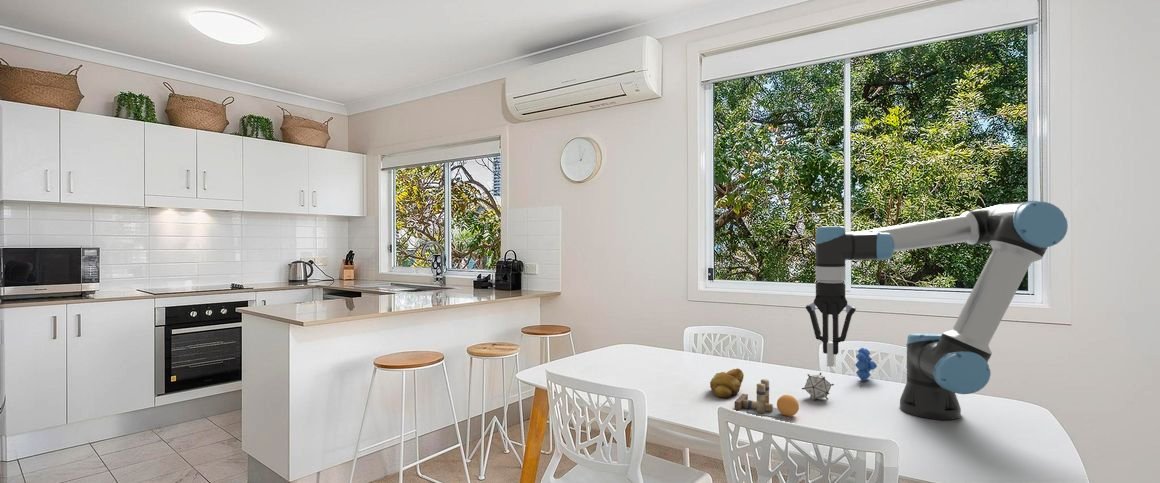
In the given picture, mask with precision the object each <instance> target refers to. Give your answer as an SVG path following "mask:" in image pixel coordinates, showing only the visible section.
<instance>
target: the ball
mask: <svg viewBox="0 0 1160 483" xmlns="http://www.w3.org/2000/svg"><path fill="white" fill-rule="evenodd" d="M776 408H778V410H779V412H780V413H781V414H783V415H785V416H792V417H793V416H795V415H796V414H797V413H798V412H799V409H800V404H799V402H798V400H797V398H795V397H794V396H793V395H790V394H784V395H781V396H780V397H779V398H778V399H777V402H776Z"/></svg>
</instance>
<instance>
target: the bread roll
mask: <svg viewBox="0 0 1160 483" xmlns="http://www.w3.org/2000/svg"><path fill="white" fill-rule="evenodd" d="M710 380H711V381H710V382H709V385H710V386H709V387H710V390H711V391H712V393H713V394H715V395H716V397H719V398H725V399H726V398H730V397H731V396H734V395H735V396H736V395H737V394H738V393H739V392H740V390H741V386H742V385H741V384H742V383H743V380H744V372H743V370H742V369H740V368H732V369H730V370H727V372H725V371H721V372H718V373H716V374H714V375H713V377H712V378H711V379H710Z"/></svg>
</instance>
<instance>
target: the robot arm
mask: <svg viewBox="0 0 1160 483" xmlns="http://www.w3.org/2000/svg"><path fill="white" fill-rule="evenodd" d="M1067 232H1068V220H1067V218H1066V217H1065V214H1064V212H1063V211H1062V210H1061V208H1060V207H1058V206H1056V205H1055V204H1053V203H1051V202H1046V201H1038V200H1028V201H1023V202H1006V203H1000V204H995V205H993V206H989V207H985V208H980V209H979V208H978V209H976V210H975V209H974V210H970V211H965V212H962V213H961V214H960V215H959V216H953V217H946V218H940V219H933V220H926V221H925V220H924V221H920V222H913V223H905V224H900V225H891V226H885V227H879V228H873V229H872V228H871V229H865V230H859V231H846V227H845V226H841V225H840V226H839V225H838V226H836V225H835V226H834V225H833V226H829V225H828V226H827V225H826V226H819V227H817V228H816V231H815V241H814V244H815V280H817V281H816V282H815V297H814V300H813V302H812V303H809V304H807V305H806V306H805V309H806V311H807V313H808V314H809V317H810V321H811V324H812V328H813V332H814V337H815V339H816V340H818V341H821V342H822V353H823V354H826V367H832V368H833V367H834V366H835V356H837V355H838V354H839V343H843V342H845V340H846V339H847V335H848V332H849V329H850V324H851V321H852V316H853V315H854V314H855V312H856V310H857V308H856V307H855V306H852V305H850V304H849V303H848V300H847V298H846V283H845V282H844V281H846V261H851V260H852V261H856V260H857V261H878V262H879V261H883V260H884V261H885V260H890V259H891V258H892V257H893V255H894V253H895V252H901V251H910V250H917V249H923V248H924V249H925V248H931V247H938V246H947V245H953V244H960V243H966V244H968V245H971V246H973V245H979V244H990V246H991V249H992V251H991V253H990V254H989V257H988V259H987V260H986V263H985V265H984V266H983V268H982V270H981V273H980V275H979V276H978V279H977V280H976V282H975V284H974V286H973V289H972V290H971V292H970V294H969V296H968V298H967V300H966V301H965V303H964V306H963V308H962V309H961V312H960V314H959V316H958V318H957V319H956V321H955V323H954V325H953V326H952V329H951V330H948V331H944V332H942V333H929V332H928V333H926V332H925V333H924V332H923V333H921V332H917V333H916V332H915V333H910V334H908V336H907V340H906V344H905V345H906V382H905V386H904V389H903V392H902V393H901V396H900V399H899V408H900V409H901V410H902V411H903V412H905V413H907V414H910V415H912V416H917V417H920V418H924V419H925V418H926V419H929V420H930V419H931V420H939V421H940V420H943V421H950V420H952V421H953V420H957V419H959V418H961V415H962V412H961V411H962V410H961V409H962V408H961V405H960V403H959V399H958V397H957V394H958V395H969V394H970V395H972V394H974V393H975V394H976V393H977V392H979V391H981V390H982V389H984V388H985V387H986V386H987V384H988V383H989V382H990V379H991V369H990V365H989V363H988V362H989V361H990V358H991V356H992V354H993V353H992V350H991V349H990V343H991V340H992V339H993V337H994V334H995V332H996V331H997V329H998V328H999V325H1000V323H1001V321H1002V320H1003V318H1004V316H1005V314H1006V313H1007V310H1008V308H1009V306H1010V304H1011V302H1012V301H1013V299H1014V298H1015V297H1014V296H1015V295H1016V293H1017V290H1018V289H1019V287H1020V285H1021V283H1022V281H1023V279H1024V277H1025V275H1026V273H1027V272H1028V270H1029V268H1030V266H1031V264H1032V263H1034V262H1037V261H1040V260H1042V259H1043V257H1044V255H1045V254H1046V251H1047V249H1048V248H1050V247H1053V246H1055V245H1058V244H1059V243H1060V242H1062V241H1063V239H1064V238H1065V237H1066V235H1067ZM816 308H817V309H818V311H819V312H820V313H821V314H822V317H821V318H822V332H821V329H820V324H819V320H818V317H817V313H816ZM844 309H845V312H846V315H845V320H844V322H843V326H842V330H841V334H839V317H840V316H839V315H841V312H842V311H843V310H844ZM830 315H831V316H832V341H830V338H829V318H830Z"/></svg>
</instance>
